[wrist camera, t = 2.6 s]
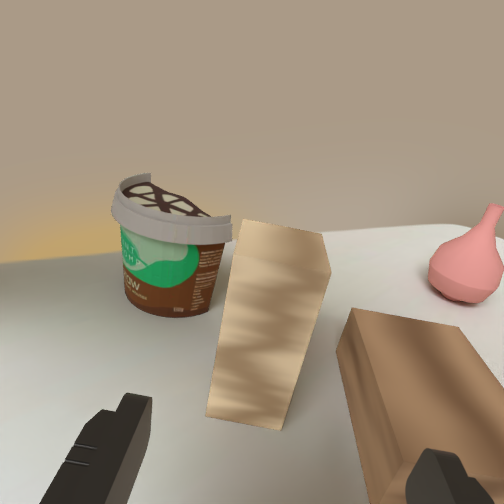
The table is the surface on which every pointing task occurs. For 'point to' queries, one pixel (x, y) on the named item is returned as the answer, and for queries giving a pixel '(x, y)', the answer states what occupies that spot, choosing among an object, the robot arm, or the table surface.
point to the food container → (167, 248)
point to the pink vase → (469, 262)
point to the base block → (419, 401)
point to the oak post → (267, 322)
